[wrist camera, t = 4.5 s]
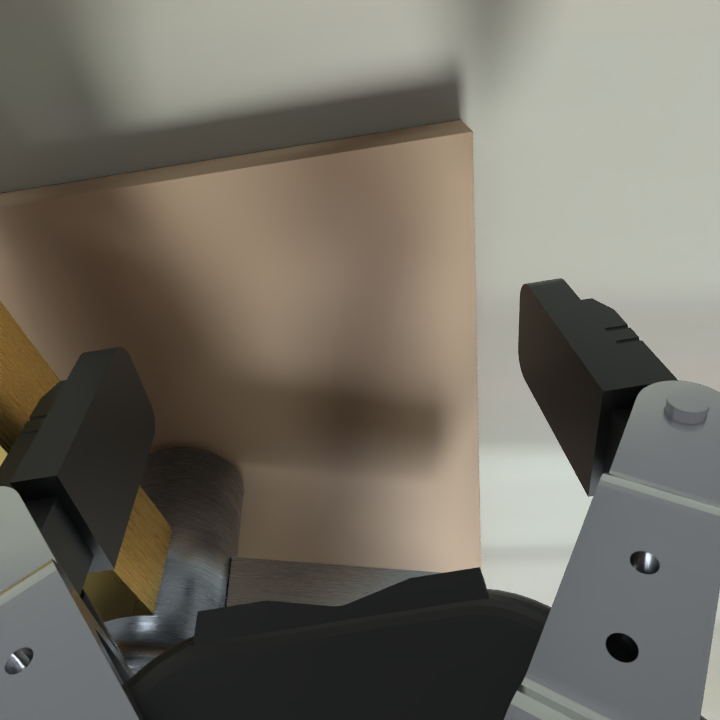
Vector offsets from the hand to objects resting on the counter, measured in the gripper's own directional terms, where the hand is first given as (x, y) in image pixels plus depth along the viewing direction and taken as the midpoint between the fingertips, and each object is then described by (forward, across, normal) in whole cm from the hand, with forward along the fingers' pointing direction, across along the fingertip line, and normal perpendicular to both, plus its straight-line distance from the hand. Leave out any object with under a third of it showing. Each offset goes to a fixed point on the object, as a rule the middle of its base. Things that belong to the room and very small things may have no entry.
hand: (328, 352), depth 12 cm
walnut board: (+5, +6, +9) cm, 12 cm away
